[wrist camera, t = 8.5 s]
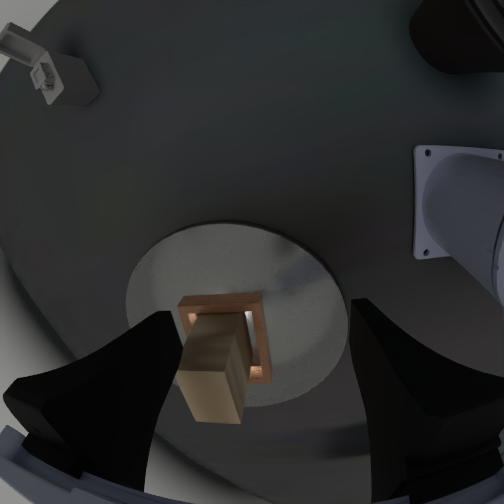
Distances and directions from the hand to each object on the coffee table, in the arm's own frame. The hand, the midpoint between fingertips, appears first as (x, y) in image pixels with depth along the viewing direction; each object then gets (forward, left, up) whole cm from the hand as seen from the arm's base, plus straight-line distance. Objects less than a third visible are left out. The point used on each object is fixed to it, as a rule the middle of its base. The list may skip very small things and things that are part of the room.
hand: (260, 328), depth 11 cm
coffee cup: (-14, -14, -10) cm, 22 cm away
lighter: (+13, -16, -10) cm, 23 cm away
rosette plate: (+4, +7, -9) cm, 12 cm away
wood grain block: (+4, +6, -8) cm, 11 cm away
